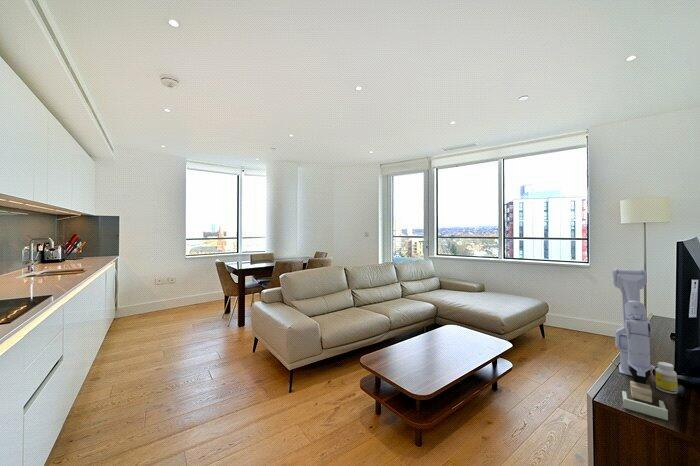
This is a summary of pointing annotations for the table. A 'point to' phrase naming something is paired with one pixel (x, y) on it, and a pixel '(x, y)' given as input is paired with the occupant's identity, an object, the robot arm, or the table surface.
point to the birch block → (641, 391)
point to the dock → (645, 407)
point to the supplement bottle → (666, 378)
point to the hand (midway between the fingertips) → (639, 388)
